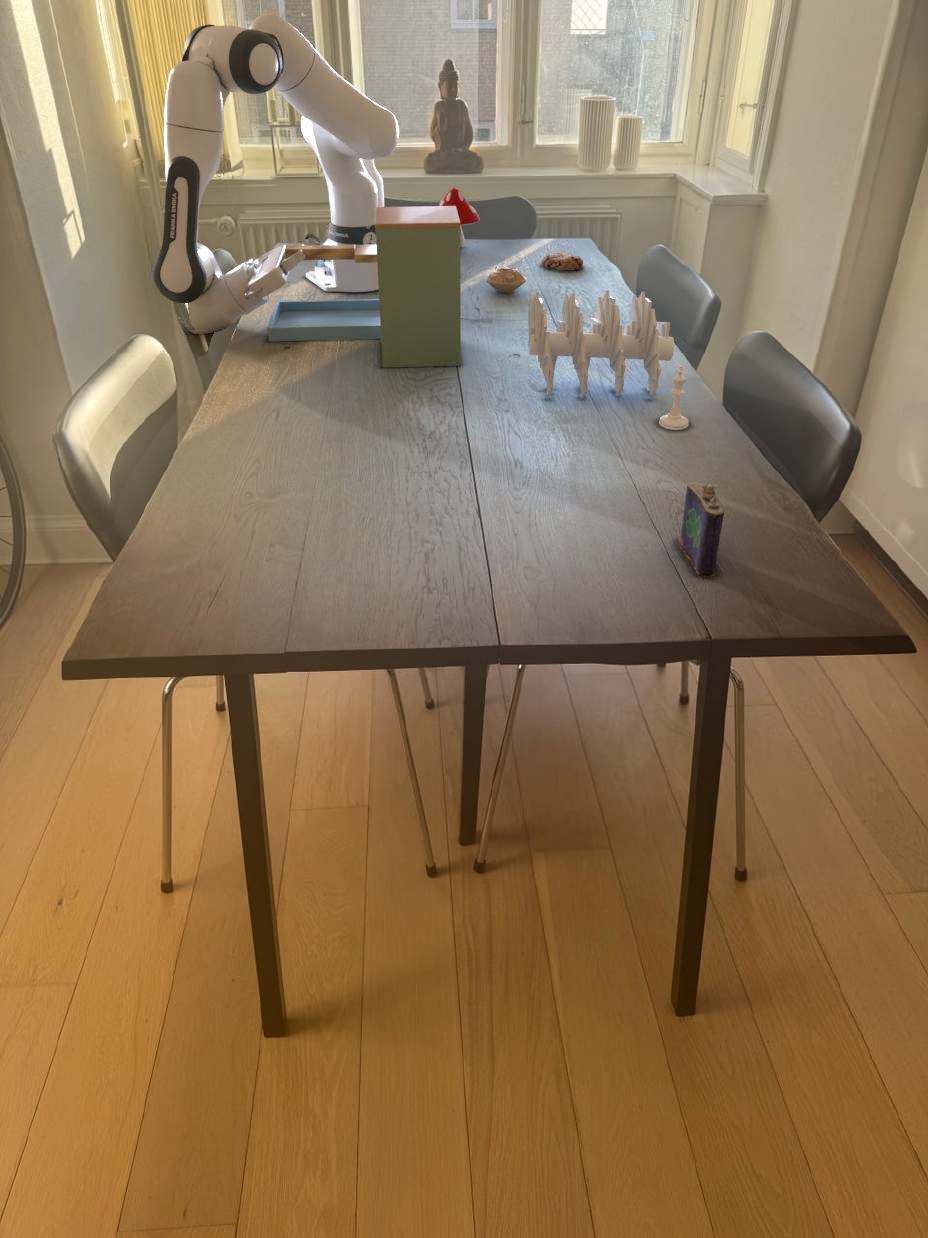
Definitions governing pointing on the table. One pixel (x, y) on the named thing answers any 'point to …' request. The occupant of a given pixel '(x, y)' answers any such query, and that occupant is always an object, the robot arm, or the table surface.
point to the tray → (325, 320)
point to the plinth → (419, 285)
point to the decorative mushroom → (460, 209)
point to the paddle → (336, 252)
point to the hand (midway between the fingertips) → (304, 250)
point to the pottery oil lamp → (505, 279)
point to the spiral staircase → (600, 339)
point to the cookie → (562, 261)
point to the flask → (701, 527)
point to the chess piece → (675, 407)
